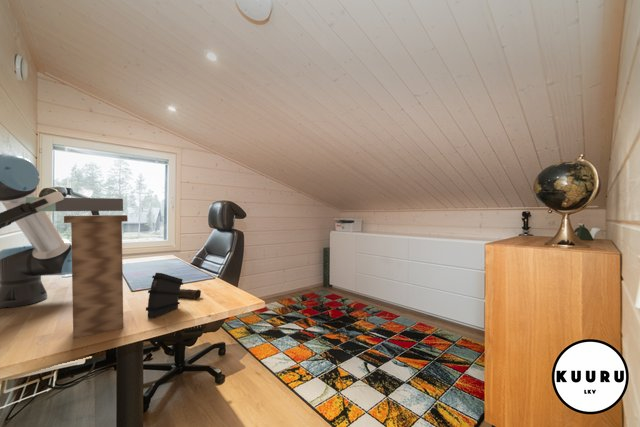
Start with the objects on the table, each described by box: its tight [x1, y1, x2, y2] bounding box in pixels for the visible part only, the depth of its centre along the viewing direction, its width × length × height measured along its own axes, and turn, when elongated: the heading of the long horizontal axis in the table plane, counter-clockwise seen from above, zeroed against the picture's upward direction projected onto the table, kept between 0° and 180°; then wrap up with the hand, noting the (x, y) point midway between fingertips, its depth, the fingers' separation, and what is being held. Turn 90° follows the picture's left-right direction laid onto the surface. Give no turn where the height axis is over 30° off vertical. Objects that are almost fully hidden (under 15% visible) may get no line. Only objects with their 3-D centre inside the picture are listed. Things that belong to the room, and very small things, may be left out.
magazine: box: [145, 272, 184, 319], centre depth 101 cm, size 4×13×15 cm, turn 162°
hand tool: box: [178, 288, 202, 300], centre depth 119 cm, size 19×4×5 cm, turn 74°
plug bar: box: [26, 196, 124, 212], centre depth 85 cm, size 22×4×4 cm, turn 127°
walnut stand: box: [63, 214, 129, 339], centre depth 88 cm, size 15×10×36 cm, turn 127°
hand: (61, 195), depth 82 cm, fingers closed on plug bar, 4 cm apart
